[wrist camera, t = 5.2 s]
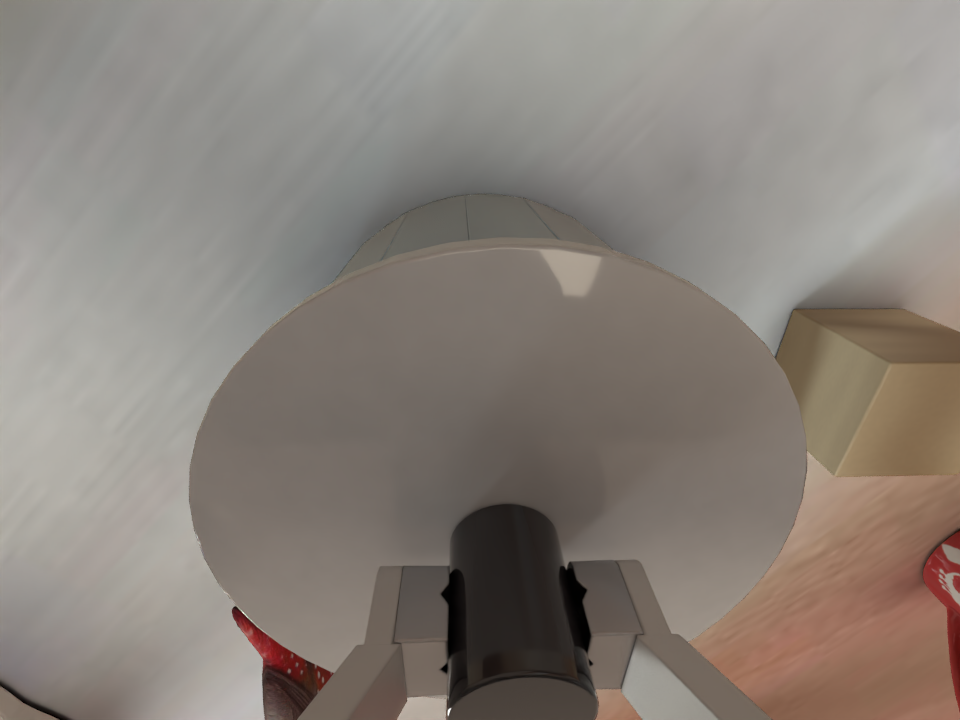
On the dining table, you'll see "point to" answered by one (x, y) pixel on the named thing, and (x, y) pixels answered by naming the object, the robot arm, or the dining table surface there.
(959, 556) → the mug
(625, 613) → the robot arm
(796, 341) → the block
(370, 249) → the canister
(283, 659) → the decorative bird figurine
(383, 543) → the lid
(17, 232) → the dining table surface
